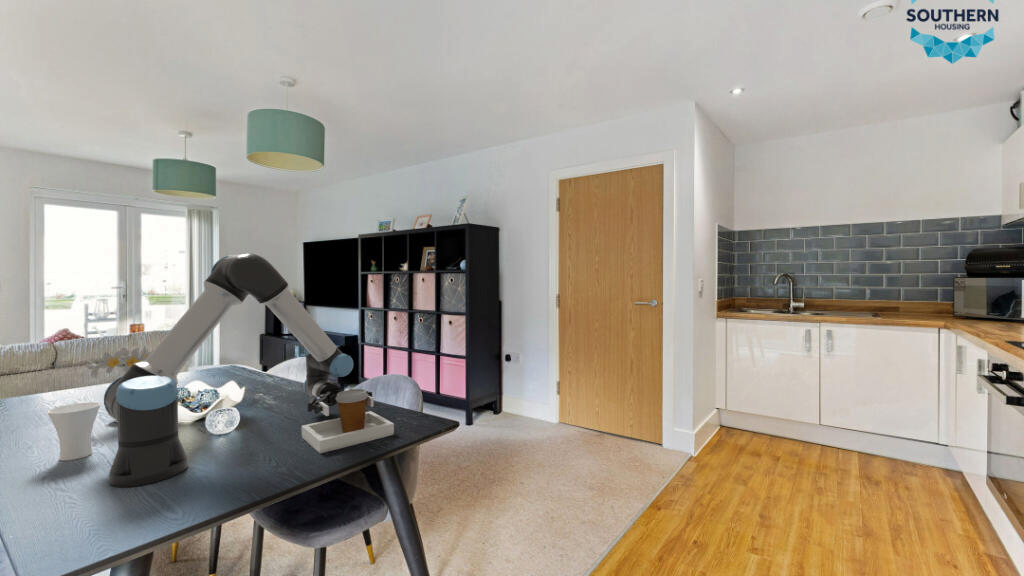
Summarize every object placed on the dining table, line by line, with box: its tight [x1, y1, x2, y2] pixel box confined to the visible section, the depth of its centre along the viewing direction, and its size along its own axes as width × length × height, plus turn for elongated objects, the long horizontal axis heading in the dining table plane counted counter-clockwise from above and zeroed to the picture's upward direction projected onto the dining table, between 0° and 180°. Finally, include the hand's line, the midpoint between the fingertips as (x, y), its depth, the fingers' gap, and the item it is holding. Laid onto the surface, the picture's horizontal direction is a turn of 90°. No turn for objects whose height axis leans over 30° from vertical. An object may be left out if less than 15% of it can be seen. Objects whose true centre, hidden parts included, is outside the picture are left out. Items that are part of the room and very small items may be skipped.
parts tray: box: [301, 411, 395, 454], centre depth 136 cm, size 22×17×4 cm
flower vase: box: [85, 345, 152, 423], centre depth 153 cm, size 13×18×25 cm
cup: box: [46, 401, 101, 462], centre depth 122 cm, size 10×10×14 cm
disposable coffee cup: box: [336, 388, 368, 433], centre depth 138 cm, size 10×10×12 cm
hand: (350, 406), depth 134 cm, fingers open, 13 cm apart
